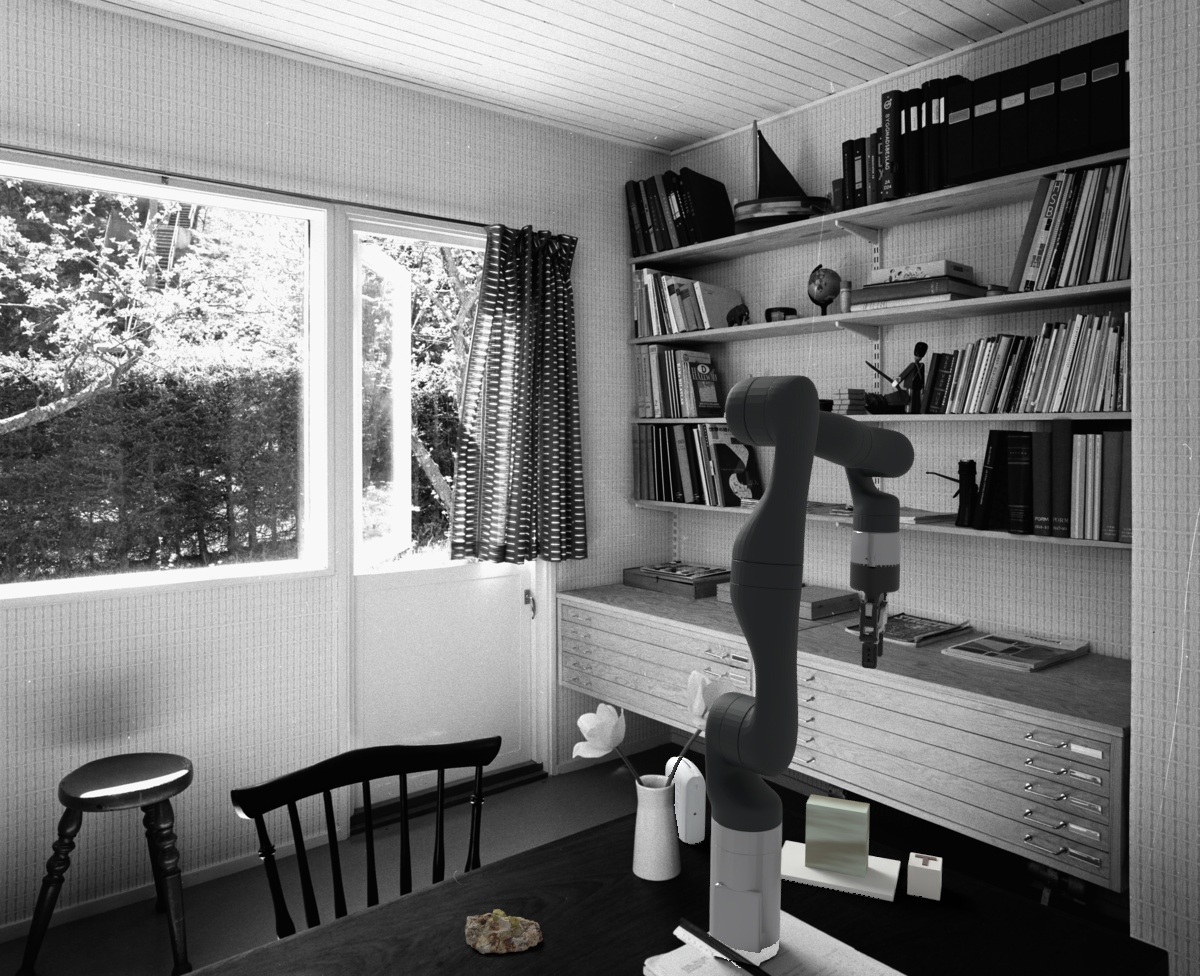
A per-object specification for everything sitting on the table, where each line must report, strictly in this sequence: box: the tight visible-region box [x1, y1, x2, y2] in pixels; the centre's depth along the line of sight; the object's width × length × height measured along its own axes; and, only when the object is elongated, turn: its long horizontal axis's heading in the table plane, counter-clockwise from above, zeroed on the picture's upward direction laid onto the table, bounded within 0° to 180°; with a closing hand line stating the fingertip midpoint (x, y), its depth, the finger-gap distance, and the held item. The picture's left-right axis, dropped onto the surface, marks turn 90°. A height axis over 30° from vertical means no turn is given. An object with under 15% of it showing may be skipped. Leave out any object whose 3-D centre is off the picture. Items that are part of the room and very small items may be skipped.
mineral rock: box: [464, 908, 544, 955], centre depth 121 cm, size 11×4×8 cm
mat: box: [781, 840, 901, 902], centre depth 141 cm, size 12×18×1 cm, turn 67°
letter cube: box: [906, 852, 943, 901], centre depth 135 cm, size 4×4×5 cm
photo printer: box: [665, 756, 707, 845], centre depth 154 cm, size 10×4×12 cm, turn 17°
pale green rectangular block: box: [804, 793, 871, 878], centre depth 141 cm, size 4×9×10 cm, turn 67°
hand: (872, 661), depth 143 cm, fingers open, 8 cm apart
